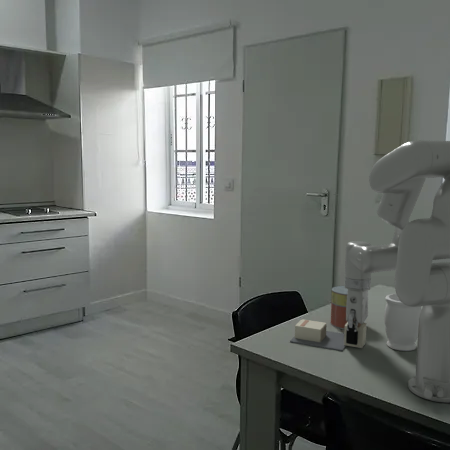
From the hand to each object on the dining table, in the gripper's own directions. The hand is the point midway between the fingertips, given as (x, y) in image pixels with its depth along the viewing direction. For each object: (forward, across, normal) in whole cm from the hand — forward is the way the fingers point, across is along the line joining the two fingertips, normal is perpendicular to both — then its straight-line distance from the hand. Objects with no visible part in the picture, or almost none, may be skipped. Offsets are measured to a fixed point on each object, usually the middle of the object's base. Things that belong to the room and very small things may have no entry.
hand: (355, 338), depth 150 cm
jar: (+2, +6, -13) cm, 14 cm away
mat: (+2, 0, +10) cm, 11 cm away
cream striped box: (+2, 0, +14) cm, 14 cm away
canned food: (+2, +18, +6) cm, 20 cm away
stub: (+2, 0, 0) cm, 2 cm away
